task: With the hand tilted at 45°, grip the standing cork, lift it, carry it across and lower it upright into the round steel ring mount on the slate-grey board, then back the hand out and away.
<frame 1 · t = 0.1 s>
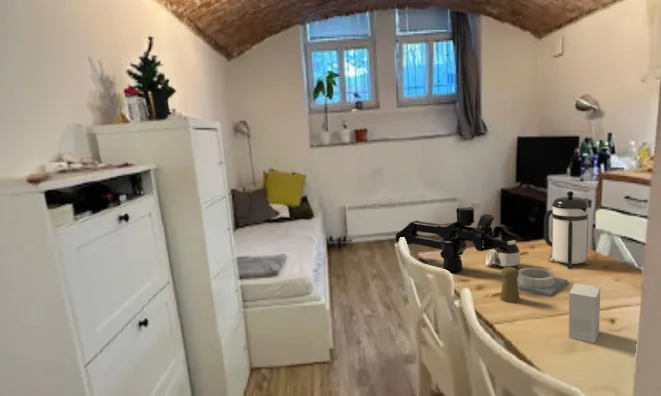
hand: (513, 241, 145), 17 cm above the table, tool horizontal, fingers open, 9 cm apart
mount: (535, 284, 146), on the table
cork: (510, 299, 135), on the table
spread jar: (501, 266, 167), on the table
small box: (583, 335, 110), on the table
coffee press: (565, 262, 166), on the table
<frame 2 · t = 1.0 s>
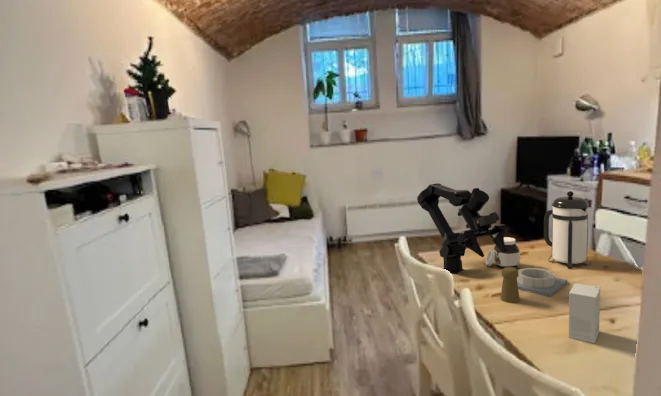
hand: (494, 254, 140), 14 cm above the table, tool tilted 45°, fingers open, 9 cm apart
nothing on the table moved.
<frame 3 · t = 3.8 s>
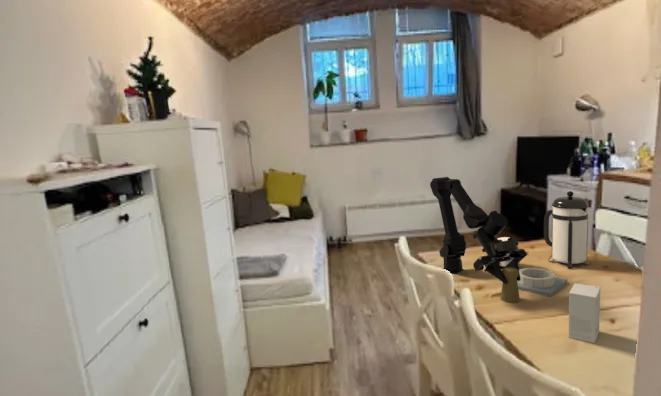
hand: (513, 282, 133), 7 cm above the table, tool tilted 45°, fingers closed on cork, 5 cm apart
cork: (510, 299, 135), on the table, touching gripper
everything else where it was.
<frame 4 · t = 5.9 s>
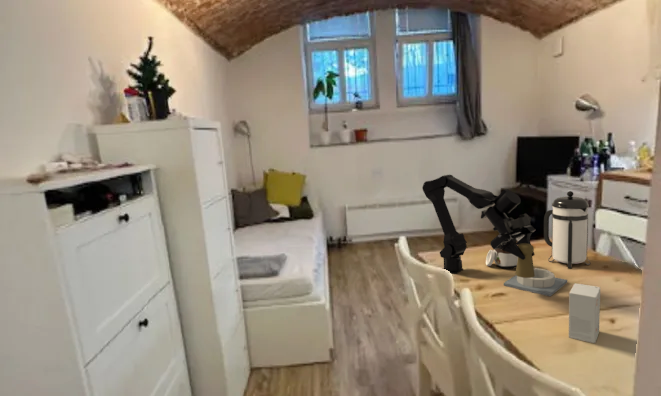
hand: (529, 257, 136), 13 cm above the table, tool tilted 45°, fingers closed on cork, 5 cm apart
cork: (525, 275, 138), point 6 cm above the table, touching gripper
everything else where it was.
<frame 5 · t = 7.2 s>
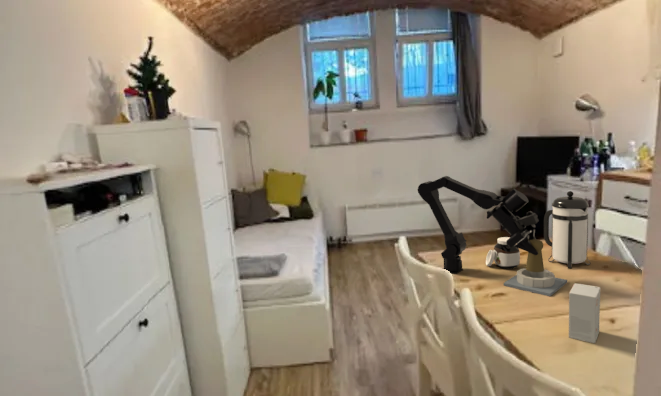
hand: (539, 252, 144), 12 cm above the table, tool tilted 45°, fingers closed on cork, 5 cm apart
cork: (534, 269, 146), point 5 cm above the table, touching gripper
everything else where it was.
when the fingers open (9 cm above the table, at t = 8.2 s): cork drops 1 cm, resting on mount.
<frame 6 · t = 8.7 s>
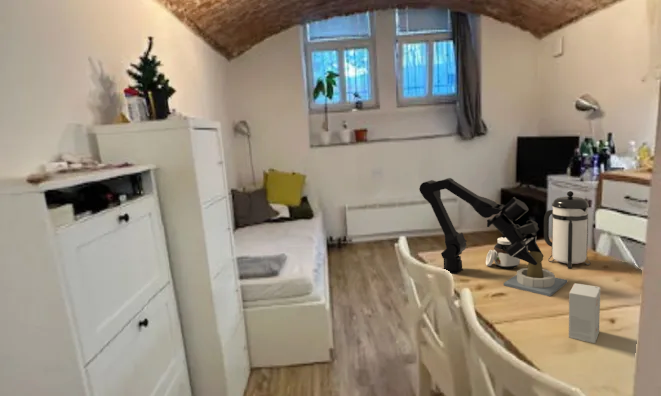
hand: (539, 260, 144), 9 cm above the table, tool tilted 45°, fingers open, 9 cm apart
cork: (535, 281, 146), point 1 cm above the table, touching mount
everything else where it was.
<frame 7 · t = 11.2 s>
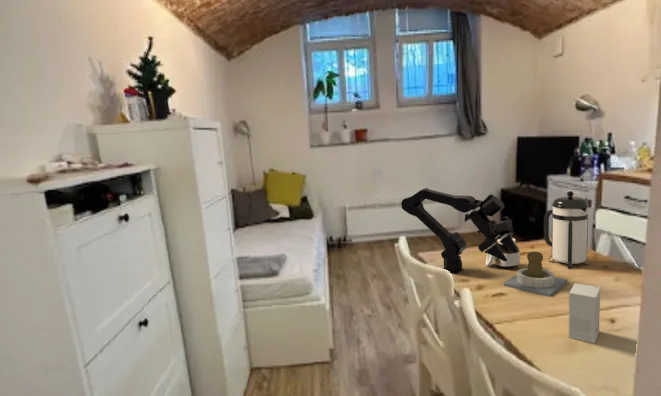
hand: (511, 256, 149), 9 cm above the table, tool tilted 40°, fingers open, 9 cm apart
nothing on the table moved.
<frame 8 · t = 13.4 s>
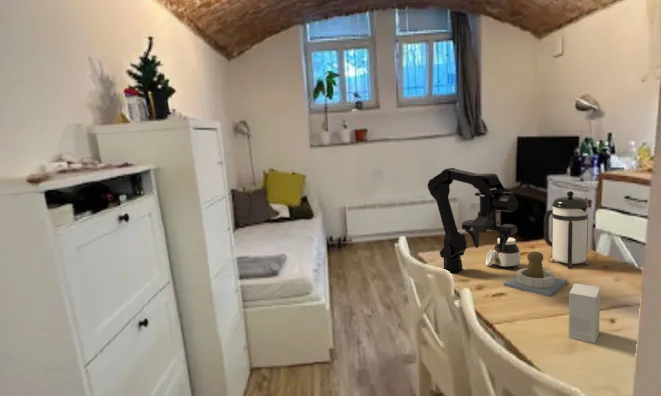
hand: (488, 249, 148), 13 cm above the table, tool pointing down, fingers open, 9 cm apart
nothing on the table moved.
at the end: cork 0.1 cm off-centre on the mount, point 0.8 cm above the mount's base; cork tilted 0°; the gripper is holding nothing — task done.
